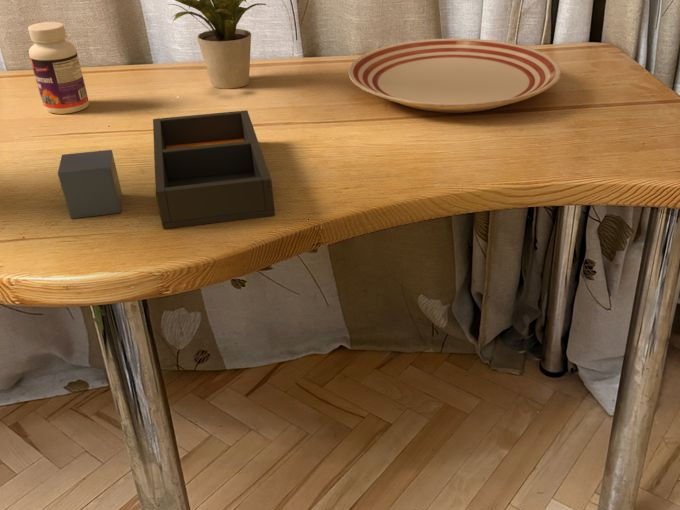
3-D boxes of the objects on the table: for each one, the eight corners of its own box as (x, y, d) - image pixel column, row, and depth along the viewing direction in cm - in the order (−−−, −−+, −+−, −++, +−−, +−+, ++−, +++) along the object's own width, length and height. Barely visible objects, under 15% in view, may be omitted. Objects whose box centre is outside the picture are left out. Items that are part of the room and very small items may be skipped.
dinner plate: (509, 141, 83) (512, 112, 81) (308, 103, 94) (306, 77, 92) (585, 77, 102) (589, 52, 100) (411, 52, 113) (411, 29, 111)
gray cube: (70, 219, 68) (57, 172, 66) (74, 198, 72) (61, 154, 69) (121, 213, 69) (110, 167, 66) (122, 193, 73) (111, 149, 70)
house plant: (208, 62, 110) (190, -63, 100) (296, 69, 106) (286, -60, 97) (159, 91, 99) (133, -46, 89) (255, 99, 95) (239, -42, 86)
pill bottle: (36, 108, 93) (13, 26, 88) (76, 97, 97) (56, 18, 91) (57, 117, 90) (34, 33, 85) (97, 107, 94) (78, 25, 88)
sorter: (163, 229, 66) (155, 192, 64) (159, 151, 82) (152, 118, 79) (275, 215, 68) (271, 179, 66) (251, 141, 84) (247, 110, 81)
